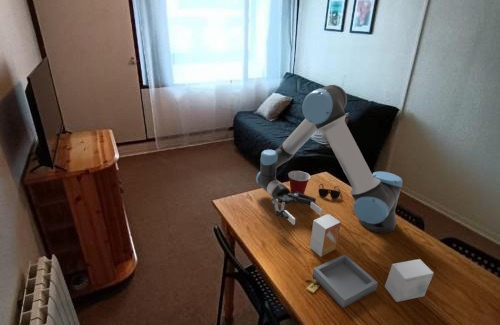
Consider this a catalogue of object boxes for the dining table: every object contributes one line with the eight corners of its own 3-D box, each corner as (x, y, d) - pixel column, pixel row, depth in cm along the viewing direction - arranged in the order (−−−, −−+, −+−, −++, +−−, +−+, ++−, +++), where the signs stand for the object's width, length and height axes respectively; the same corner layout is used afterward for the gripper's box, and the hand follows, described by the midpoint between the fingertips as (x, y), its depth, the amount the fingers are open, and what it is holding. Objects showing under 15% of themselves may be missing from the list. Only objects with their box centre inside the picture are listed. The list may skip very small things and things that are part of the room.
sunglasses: (317, 197, 147) (318, 188, 146) (318, 188, 158) (319, 179, 157) (339, 200, 145) (341, 191, 144) (338, 191, 156) (339, 182, 155)
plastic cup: (311, 194, 149) (314, 173, 144) (303, 204, 141) (305, 182, 136) (292, 188, 155) (293, 167, 149) (282, 197, 146) (284, 176, 141)
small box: (321, 257, 110) (325, 229, 104) (309, 247, 115) (312, 220, 109) (336, 249, 114) (341, 221, 108) (324, 240, 119) (328, 213, 113)
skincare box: (397, 303, 93) (405, 278, 88) (384, 286, 98) (391, 263, 94) (425, 297, 95) (434, 272, 90) (411, 281, 101) (419, 257, 96)
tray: (343, 261, 108) (345, 254, 107) (375, 290, 97) (377, 282, 95) (312, 275, 102) (313, 268, 100) (342, 308, 91) (344, 300, 89)
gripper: (300, 192, 142) (330, 216, 126) (254, 205, 131) (281, 233, 115) (301, 178, 139) (333, 201, 122) (255, 191, 128) (282, 217, 111)
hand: (308, 217), depth 118 cm, fingers open, 13 cm apart
